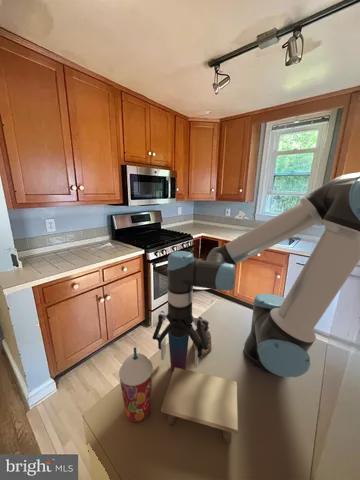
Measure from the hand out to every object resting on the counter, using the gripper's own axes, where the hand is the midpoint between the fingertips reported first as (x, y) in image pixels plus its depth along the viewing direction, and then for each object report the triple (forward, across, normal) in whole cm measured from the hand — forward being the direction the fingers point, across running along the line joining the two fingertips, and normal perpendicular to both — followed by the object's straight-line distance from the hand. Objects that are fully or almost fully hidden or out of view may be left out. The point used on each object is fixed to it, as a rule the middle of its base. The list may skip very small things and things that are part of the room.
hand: (179, 360), depth 66 cm
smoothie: (+3, +7, +16) cm, 18 cm away
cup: (+3, 0, 0) cm, 3 cm away
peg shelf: (+3, -9, +12) cm, 15 cm away
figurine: (+3, -6, -11) cm, 13 cm away
